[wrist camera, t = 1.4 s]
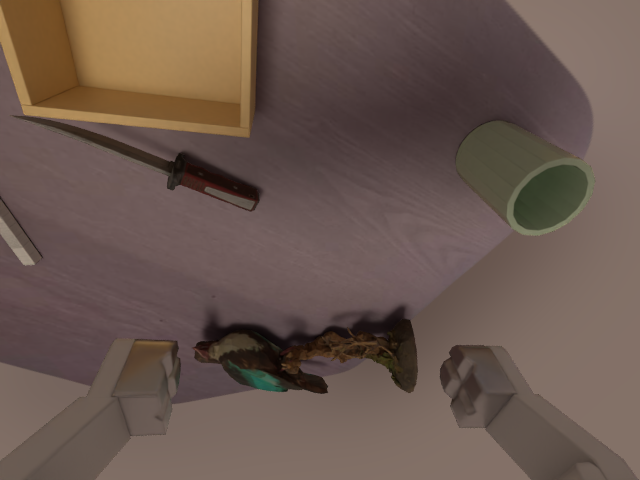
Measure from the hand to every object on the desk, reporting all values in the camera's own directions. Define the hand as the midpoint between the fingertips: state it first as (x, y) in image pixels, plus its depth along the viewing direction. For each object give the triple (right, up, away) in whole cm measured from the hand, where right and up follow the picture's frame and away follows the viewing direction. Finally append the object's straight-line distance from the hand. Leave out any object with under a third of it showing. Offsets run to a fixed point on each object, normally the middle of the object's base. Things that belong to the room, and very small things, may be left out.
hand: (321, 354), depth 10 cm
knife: (-13, +11, +19) cm, 26 cm away
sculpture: (+11, -10, +30) cm, 33 cm away
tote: (-11, +19, +13) cm, 26 cm away
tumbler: (+16, +11, +22) cm, 29 cm away
